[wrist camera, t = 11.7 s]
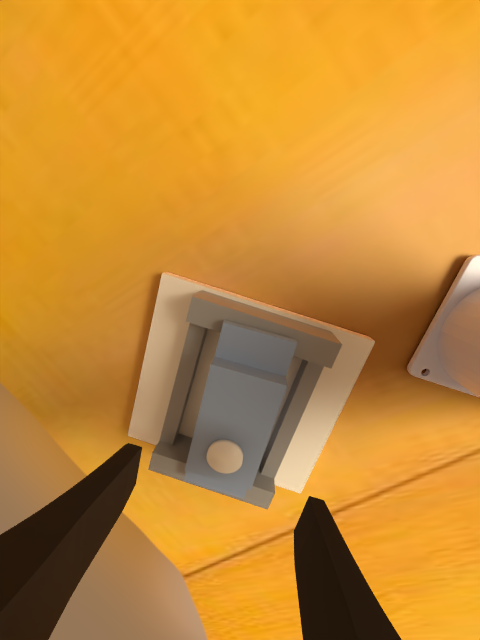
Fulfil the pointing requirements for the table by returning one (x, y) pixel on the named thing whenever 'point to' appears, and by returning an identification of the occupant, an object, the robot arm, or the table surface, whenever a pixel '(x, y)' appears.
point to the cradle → (193, 368)
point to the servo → (238, 408)
